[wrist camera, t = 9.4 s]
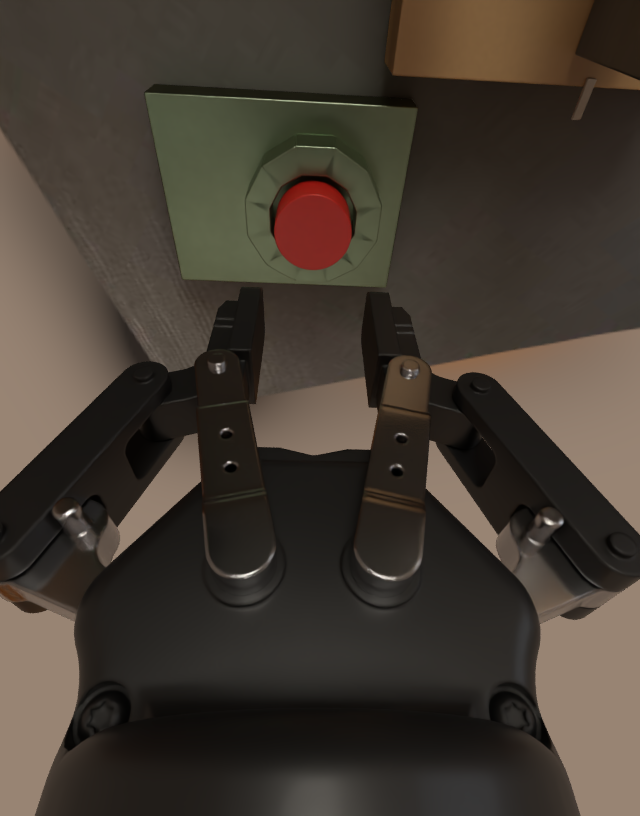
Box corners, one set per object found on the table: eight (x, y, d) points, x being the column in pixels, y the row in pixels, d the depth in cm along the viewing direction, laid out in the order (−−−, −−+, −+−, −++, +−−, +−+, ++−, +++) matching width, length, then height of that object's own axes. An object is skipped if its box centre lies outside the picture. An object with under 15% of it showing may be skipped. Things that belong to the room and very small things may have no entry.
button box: (187, 265, 26) (174, 297, 24) (153, 83, 20) (131, 102, 17) (383, 273, 27) (389, 305, 24) (412, 98, 20) (425, 118, 18)
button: (277, 252, 22) (275, 269, 21) (275, 177, 20) (272, 192, 19) (346, 255, 23) (348, 272, 21) (353, 181, 20) (355, 196, 19)
